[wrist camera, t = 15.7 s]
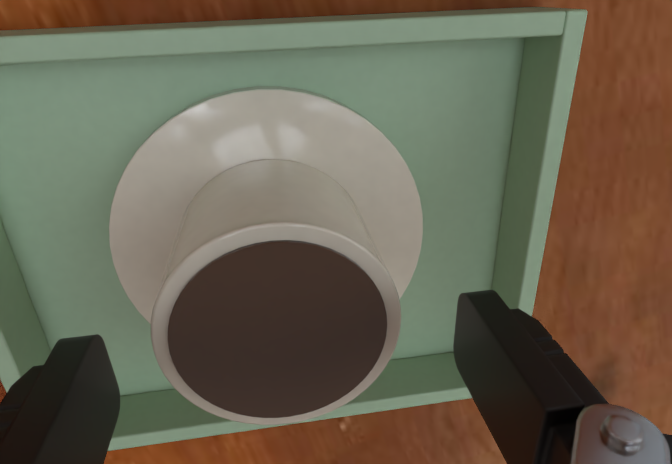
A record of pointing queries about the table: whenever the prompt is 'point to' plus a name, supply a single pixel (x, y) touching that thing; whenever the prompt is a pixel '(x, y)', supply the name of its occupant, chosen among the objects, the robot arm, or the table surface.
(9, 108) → the tray
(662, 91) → the table surface
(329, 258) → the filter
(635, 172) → the table surface
